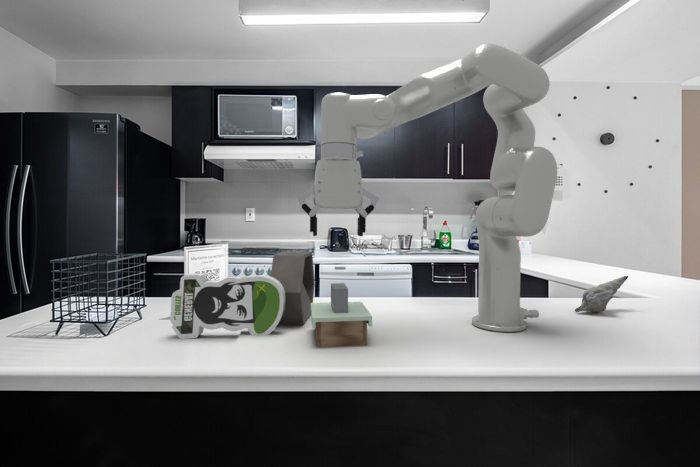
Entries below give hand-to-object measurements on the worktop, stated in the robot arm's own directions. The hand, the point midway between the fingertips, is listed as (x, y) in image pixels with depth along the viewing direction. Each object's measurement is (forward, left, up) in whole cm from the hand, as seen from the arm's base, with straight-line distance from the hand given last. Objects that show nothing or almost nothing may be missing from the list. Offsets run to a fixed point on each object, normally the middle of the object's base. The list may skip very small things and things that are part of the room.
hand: (337, 235), depth 82 cm
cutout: (+24, -6, -23) cm, 33 cm away
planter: (+10, -17, -23) cm, 30 cm away
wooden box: (0, 0, -23) cm, 23 cm away
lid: (0, 0, -18) cm, 18 cm away
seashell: (-76, -15, -23) cm, 80 cm away
